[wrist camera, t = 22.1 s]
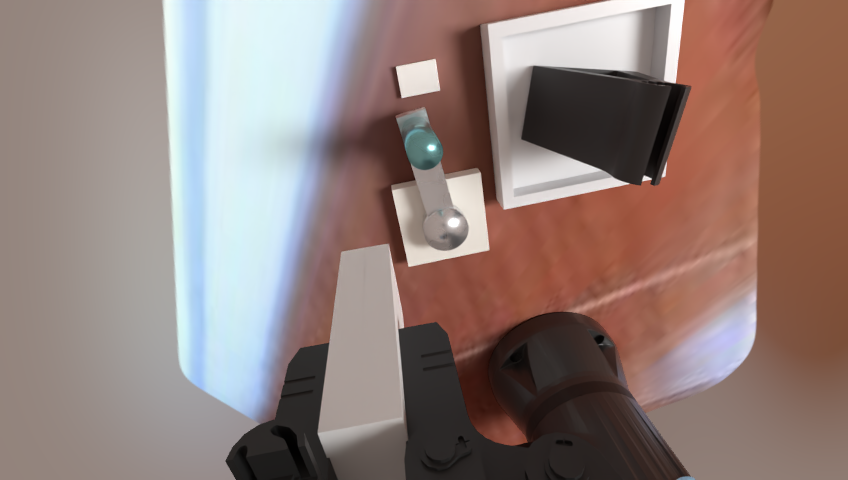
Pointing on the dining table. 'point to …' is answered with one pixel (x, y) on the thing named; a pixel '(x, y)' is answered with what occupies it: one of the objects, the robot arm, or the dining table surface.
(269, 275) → the dining table surface
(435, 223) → the crank
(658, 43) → the tray
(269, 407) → the dining table surface
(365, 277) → the robot arm
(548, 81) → the phone stand
